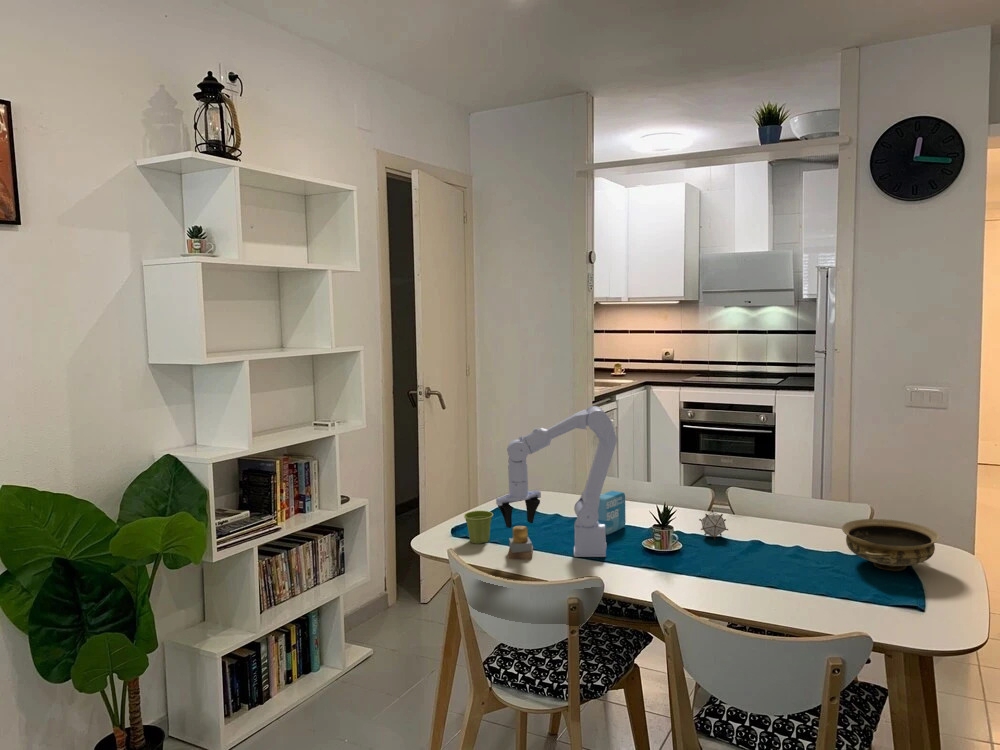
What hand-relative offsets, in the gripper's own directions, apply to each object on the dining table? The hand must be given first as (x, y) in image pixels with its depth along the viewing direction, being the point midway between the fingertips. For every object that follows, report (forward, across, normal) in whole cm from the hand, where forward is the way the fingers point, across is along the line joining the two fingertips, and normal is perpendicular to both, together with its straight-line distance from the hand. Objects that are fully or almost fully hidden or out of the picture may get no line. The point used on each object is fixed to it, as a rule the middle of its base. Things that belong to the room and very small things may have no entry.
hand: (519, 524), depth 227 cm
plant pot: (+10, -4, +19) cm, 21 cm away
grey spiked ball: (+10, +59, -21) cm, 63 cm away
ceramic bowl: (+10, +79, -67) cm, 104 cm away
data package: (+10, +37, +3) cm, 38 cm away
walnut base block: (+10, 0, 0) cm, 10 cm away
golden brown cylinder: (+5, 0, 0) cm, 5 cm away
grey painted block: (+8, 0, 0) cm, 8 cm away
